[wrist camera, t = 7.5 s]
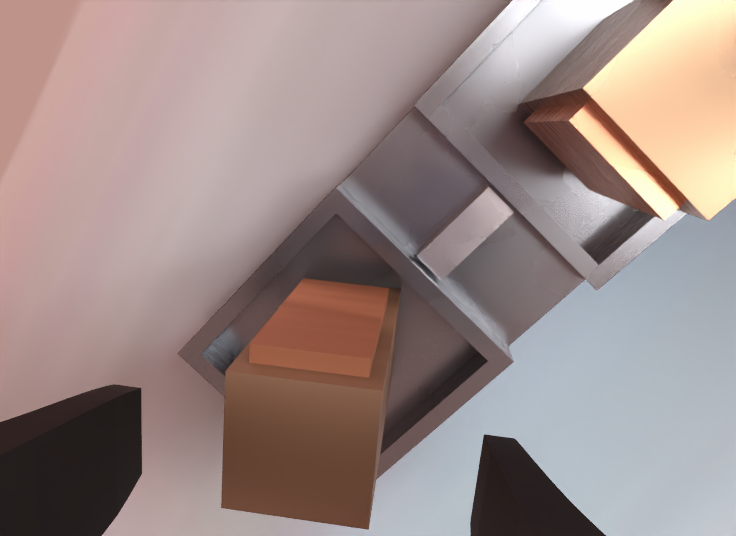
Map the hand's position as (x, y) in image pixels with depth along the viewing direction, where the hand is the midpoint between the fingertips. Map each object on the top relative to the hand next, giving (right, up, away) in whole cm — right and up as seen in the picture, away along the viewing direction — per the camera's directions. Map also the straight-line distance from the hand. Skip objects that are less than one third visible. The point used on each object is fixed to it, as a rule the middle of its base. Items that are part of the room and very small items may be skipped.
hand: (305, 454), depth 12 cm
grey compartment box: (+4, +5, +6) cm, 9 cm away
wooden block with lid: (+1, +2, +6) cm, 6 cm away
